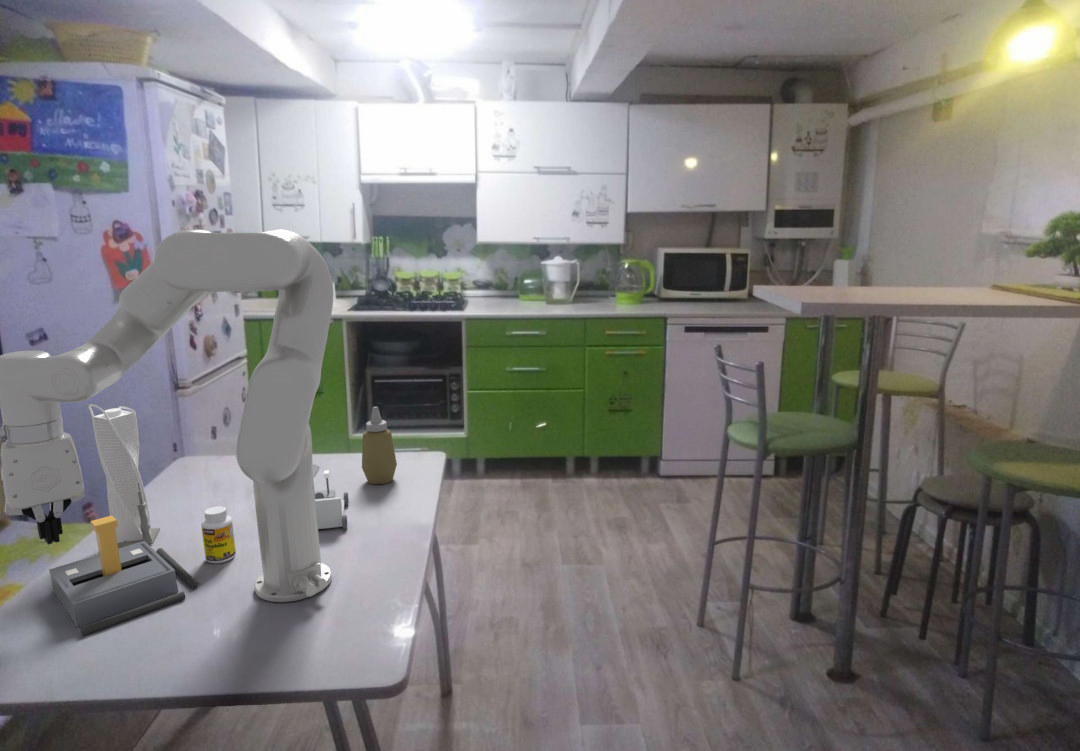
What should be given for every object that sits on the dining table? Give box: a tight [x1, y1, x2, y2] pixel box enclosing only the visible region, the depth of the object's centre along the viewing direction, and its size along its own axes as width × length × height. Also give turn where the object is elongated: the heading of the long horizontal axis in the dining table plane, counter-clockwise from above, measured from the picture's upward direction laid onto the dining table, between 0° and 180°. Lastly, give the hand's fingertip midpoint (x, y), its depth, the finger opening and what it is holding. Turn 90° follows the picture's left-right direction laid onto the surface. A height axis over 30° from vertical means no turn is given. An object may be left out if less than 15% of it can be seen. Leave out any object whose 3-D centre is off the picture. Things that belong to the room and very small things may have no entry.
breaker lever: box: [90, 515, 122, 576], centre depth 123 cm, size 3×3×10 cm
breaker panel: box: [48, 541, 179, 628], centre depth 124 cm, size 16×15×4 cm
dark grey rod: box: [155, 547, 199, 589], centre depth 131 cm, size 18×1×1 cm, turn 44°
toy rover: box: [313, 464, 350, 531], centre depth 153 cm, size 18×10×12 cm
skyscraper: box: [87, 403, 161, 549], centre depth 141 cm, size 8×8×28 cm
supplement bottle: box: [201, 505, 237, 564], centre depth 135 cm, size 5×5×10 cm
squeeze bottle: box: [361, 406, 398, 485], centre depth 171 cm, size 8×8×18 cm
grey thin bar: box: [79, 591, 186, 636], centre depth 117 cm, size 1×15×1 cm, turn 134°
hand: (51, 540), depth 117 cm, fingers closed
